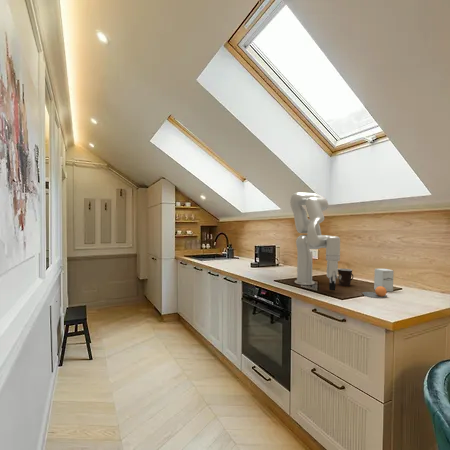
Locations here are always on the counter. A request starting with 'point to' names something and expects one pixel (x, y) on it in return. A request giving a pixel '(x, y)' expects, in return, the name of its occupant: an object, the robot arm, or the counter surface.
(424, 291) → the counter surface
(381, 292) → the ball
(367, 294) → the disc
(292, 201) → the robot arm
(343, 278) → the coffee mug
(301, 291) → the counter surface
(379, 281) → the supplement box
